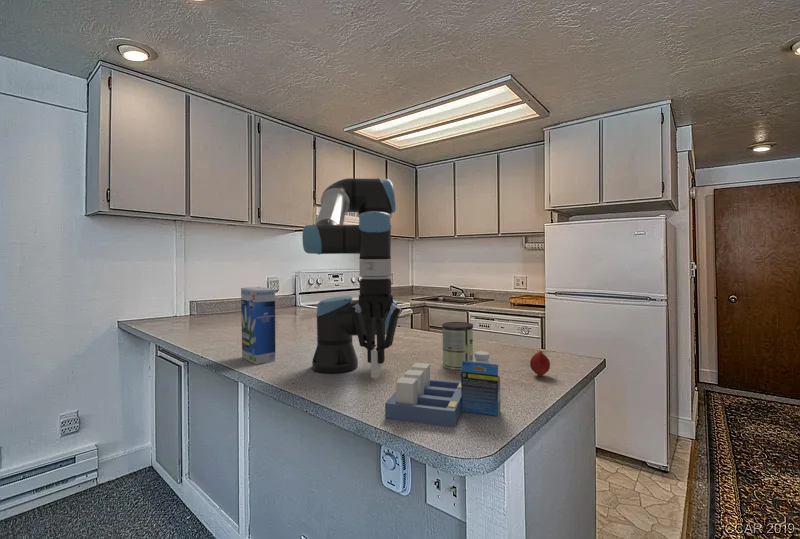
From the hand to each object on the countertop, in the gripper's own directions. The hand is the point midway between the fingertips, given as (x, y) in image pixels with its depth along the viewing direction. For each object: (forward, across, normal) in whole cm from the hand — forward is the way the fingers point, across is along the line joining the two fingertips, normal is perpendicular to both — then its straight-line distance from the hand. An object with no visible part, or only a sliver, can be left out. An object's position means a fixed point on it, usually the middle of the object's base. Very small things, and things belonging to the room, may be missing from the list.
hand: (376, 376), depth 94 cm
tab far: (+6, +8, +13) cm, 17 cm away
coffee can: (+8, +12, +44) cm, 46 cm away
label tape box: (+9, +24, +7) cm, 26 cm away
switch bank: (+9, +11, +7) cm, 16 cm away
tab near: (+6, +8, 0) cm, 10 cm away
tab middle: (+6, +8, +7) cm, 12 cm away
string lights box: (+8, -58, +32) cm, 66 cm away
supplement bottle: (+9, +22, +25) cm, 35 cm away
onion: (+8, +38, +40) cm, 56 cm away
